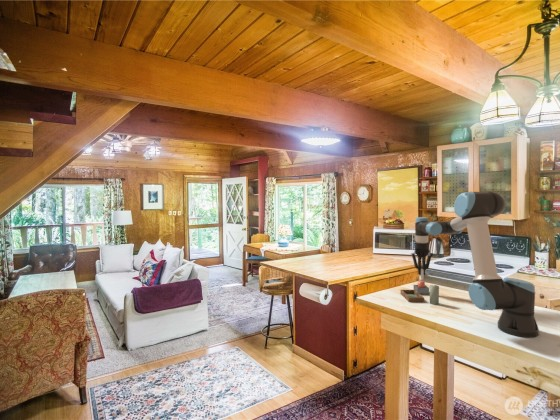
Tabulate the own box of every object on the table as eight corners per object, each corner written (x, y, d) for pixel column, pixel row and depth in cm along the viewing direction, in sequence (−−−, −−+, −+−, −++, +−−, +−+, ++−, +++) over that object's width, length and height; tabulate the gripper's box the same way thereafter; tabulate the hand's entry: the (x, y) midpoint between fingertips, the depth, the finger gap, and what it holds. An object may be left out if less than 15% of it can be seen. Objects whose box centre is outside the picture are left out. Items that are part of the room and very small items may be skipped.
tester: (429, 294, 202) (429, 288, 202) (417, 294, 203) (417, 287, 203) (424, 291, 209) (424, 284, 209) (413, 290, 210) (413, 284, 210)
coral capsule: (425, 292, 204) (425, 282, 204) (419, 292, 204) (419, 282, 204) (423, 290, 208) (423, 281, 208) (416, 290, 208) (416, 280, 208)
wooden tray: (424, 302, 189) (424, 297, 188) (408, 302, 189) (408, 297, 189) (414, 293, 204) (414, 289, 204) (400, 293, 205) (400, 289, 205)
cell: (440, 304, 184) (440, 286, 183) (431, 304, 184) (431, 286, 183) (436, 302, 188) (436, 283, 188) (428, 302, 189) (428, 283, 188)
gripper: (430, 241, 208) (429, 278, 209) (409, 241, 208) (408, 278, 209) (435, 243, 200) (434, 281, 201) (413, 243, 201) (412, 281, 202)
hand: (421, 279), depth 205 cm, fingers closed
